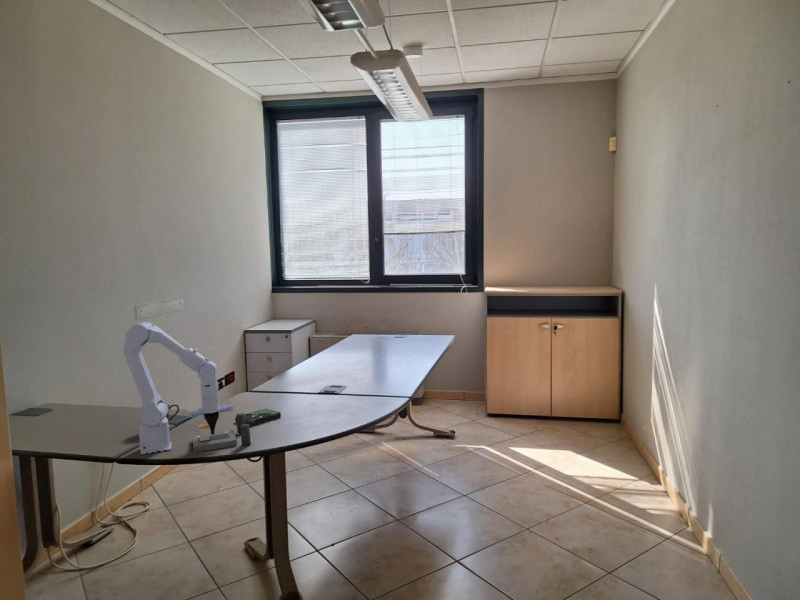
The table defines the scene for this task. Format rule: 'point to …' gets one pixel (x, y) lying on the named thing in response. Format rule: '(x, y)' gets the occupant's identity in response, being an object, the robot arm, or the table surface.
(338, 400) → the table surface
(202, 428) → the block
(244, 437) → the post
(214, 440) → the breaker panel
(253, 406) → the table surface
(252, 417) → the disk drive
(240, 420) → the cylinder
